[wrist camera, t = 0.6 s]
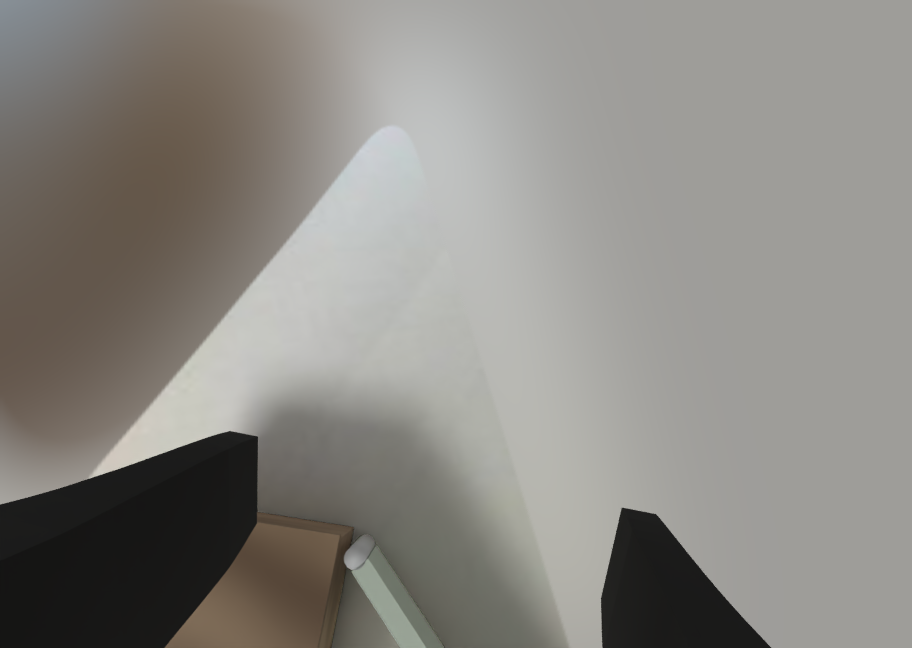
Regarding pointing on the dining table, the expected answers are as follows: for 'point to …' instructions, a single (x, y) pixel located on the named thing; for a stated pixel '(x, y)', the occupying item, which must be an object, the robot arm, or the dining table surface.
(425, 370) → the dining table surface
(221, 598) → the cabinet
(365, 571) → the door
